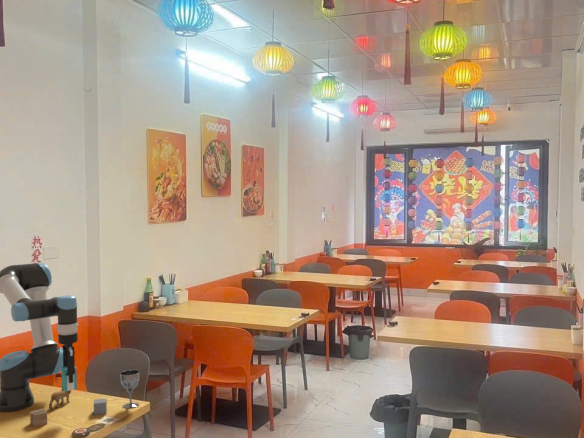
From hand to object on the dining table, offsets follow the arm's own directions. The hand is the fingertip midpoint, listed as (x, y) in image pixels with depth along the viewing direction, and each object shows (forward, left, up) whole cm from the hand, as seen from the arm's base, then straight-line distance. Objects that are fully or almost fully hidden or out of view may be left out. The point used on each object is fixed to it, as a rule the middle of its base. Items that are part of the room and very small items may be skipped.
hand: (69, 387), depth 227 cm
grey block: (+1, +12, -13) cm, 18 cm away
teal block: (0, 0, 0) cm, 0 cm away
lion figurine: (-19, -1, -13) cm, 23 cm away
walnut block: (-1, -12, -13) cm, 18 cm away
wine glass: (+1, +25, -13) cm, 28 cm away
